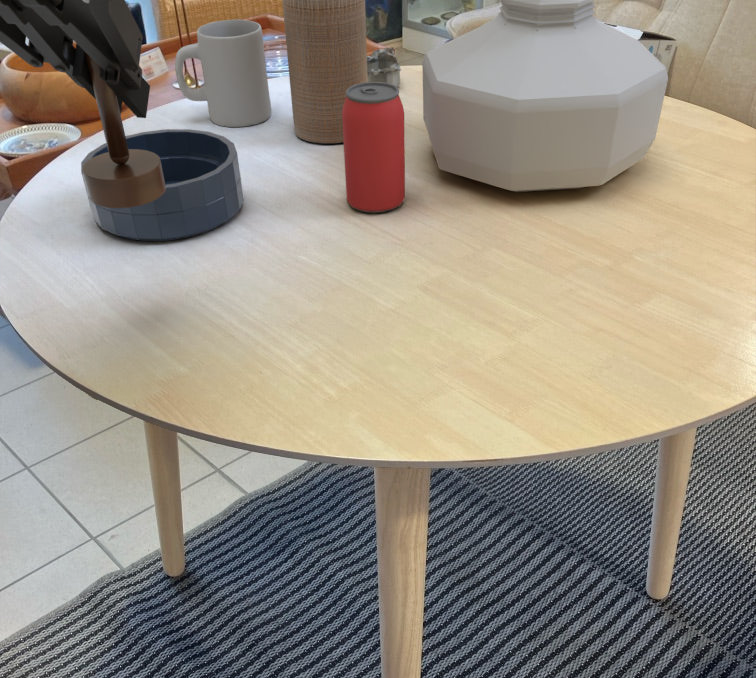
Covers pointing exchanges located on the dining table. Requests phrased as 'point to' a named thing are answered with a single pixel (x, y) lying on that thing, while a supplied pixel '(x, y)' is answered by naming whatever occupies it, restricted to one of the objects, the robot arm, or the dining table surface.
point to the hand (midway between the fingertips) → (130, 101)
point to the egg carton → (383, 67)
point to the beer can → (374, 147)
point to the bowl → (179, 187)
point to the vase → (323, 63)
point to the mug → (229, 72)
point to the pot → (542, 98)
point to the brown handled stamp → (119, 158)
